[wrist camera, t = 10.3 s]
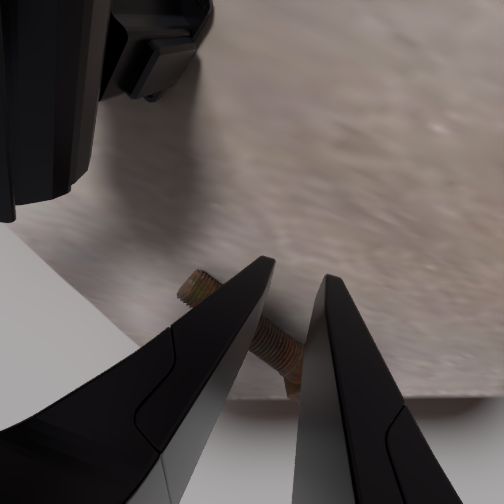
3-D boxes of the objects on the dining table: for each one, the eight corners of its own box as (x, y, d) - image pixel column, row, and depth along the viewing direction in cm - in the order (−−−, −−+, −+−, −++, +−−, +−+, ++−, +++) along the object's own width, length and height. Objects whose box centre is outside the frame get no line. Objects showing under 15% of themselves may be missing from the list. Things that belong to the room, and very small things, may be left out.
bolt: (208, 251, 28) (324, 341, 30) (176, 290, 28) (292, 375, 31) (199, 269, 22) (343, 378, 25) (159, 317, 23) (303, 418, 25)
